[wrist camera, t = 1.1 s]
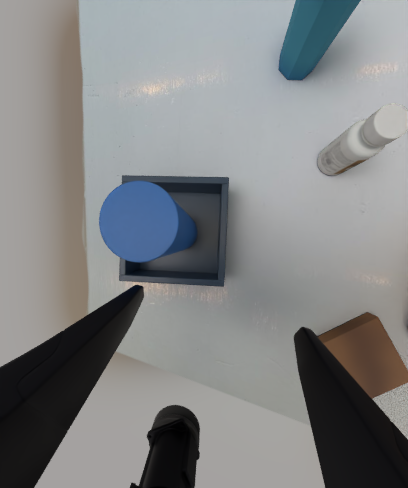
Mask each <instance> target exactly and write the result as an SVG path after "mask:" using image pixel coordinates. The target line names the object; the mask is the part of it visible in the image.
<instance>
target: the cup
mask: <svg viewBox="0 0 408 488" xmlns="http://www.w3.org/2000/svg"><path fill="white" fill-rule="evenodd" d="M360 1H361V0H296V2H295V5H294V9H293V12H292V16H291V19H290V23H289V26H288V30H287V33H286V36H285V40H284V43H283V47H282V50H281V54H280V61H279V71H280V72H281V73H282V74H283V75H284V76H285V77H286V79H287V80H302V79H304V78H305V77H306V76H307V75H308V74H309V73H310V72H312V71H313V69H314V68H315V66H316V65H317V63H318V62H319V61H320V59H321V58H322V56H323V55H324V53H325V52H326V50H327V49H328V47H329V46H330V44H331V43H332V42H333V40H334V39H335V37H336V36H337V34H338V33H339V31H340V30H341V28H342V27H343V25H344V24H345V23H346V21H347V20H348V18H349V17H350V15H351V14H352V12H353V11H354V9H355V8H356V6H357V5H358V3H359V2H360Z"/></svg>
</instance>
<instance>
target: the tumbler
mask: <svg viewBox="0 0 408 488" xmlns="http://www.w3.org/2000/svg"><path fill="white" fill-rule="evenodd" d="M99 226H100V231H101V235H102V237H103V240H104V242H105V243H106V245H107V246H108V248H109V249H110V250H111V251H112V252H113V253H115V254H116V255H117V256H119V257H120V258H122V259H125V260H127V261H131V262H148V261H152V260H155V259H158V258H161V257H164V256H167V255H170V254H173V253H176V252H179V251H182V250H185V249H188V248H189V247H191V246H192V245H193V244H194V242H195V240H196V238H197V226H196V224H195V222H194V221H193V220H192V218H191V217H190V216H189V215H188V214H187V213H186V212H185V211H184V210H183V209H182V208H181V207H180V206H179V204H178V203H177V202H176V201H175V200H174V199H173V198H172V197H171V196H170V195H169V194H168V193H167V192H166V191H165V190H164V189H163V188H161V187H160V186H158V185H156V184H154V183H151V182H148V181H131V182H127V183H124V184H122V185H120V186H118V187H117V188H115V189H114V190H113V191H112V192H111V193H110V194H109V195H108V197H107V198H106V199H105V201H104V203H103V205H102V208H101V211H100V217H99Z"/></svg>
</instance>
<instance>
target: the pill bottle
mask: <svg viewBox="0 0 408 488" xmlns="http://www.w3.org/2000/svg"><path fill="white" fill-rule="evenodd" d="M407 130H408V110H407V109H406V108H405V107H404V106H402V105H400V104H388V105H385V106H383V107H382V108H380V109H379V110H378V111H376V112H375V113H374V114H372V115H371V116H370V117H369V118H368V119H363V120H361V121H358V122H357V123H355V124H354V125H352V126H351V127H350V128H348V129H347V130H346V131H345V132H344V133H342V134H341V135H340V136H339V137H338V138H336V139H335V140H334V141H333V142H331V143H330V144H329V145H328V146H327V147H325V148H324V149H323V150H322V151H321V153H320V154H319V157H318V166H319V168H320V170H321V171H322V172H323V173H325V174H327V175H338V174H341V173H342V172H344V171H346V170H348V169H350V168H352V167H354V166H356V165H358V164H360V163H362V162H364V161H366V160H367V159H369V158H371V157H373V156H375V155H376V154H378V153H379V152H380V151H381V150H382V149H383V148H384V147H385V145H386V144H388V143H390V142H392V141H394V140H395V139H397V138H399V137H401V136H402V135H403V134H405V133H406V131H407Z"/></svg>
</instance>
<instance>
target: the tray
mask: <svg viewBox="0 0 408 488" xmlns="http://www.w3.org/2000/svg"><path fill="white" fill-rule="evenodd" d="M131 181H148V182H151V183H154V184H156V185H158V186H160V187H161V188H163V189H164V190H165V191H166V192H167V193H168V194H169V195H170V196H171V197H172V198H173V199H174V200H175V201H176V202H177V203H178V204H179V206H180V207H181V208H182V209H183V210H184V211H185V212H186V213H187V214H188V215H189V216H190V217H191V218H192V220H193V221H194V222H195V224H196V226H197V238H196V240H195V242H194V244H193V245H192V246H191V247H189V248H188V249H185V250H182V251H179V252H176V253H173V254H170V255H167V256H164V257H161V258H158V259H155V260H152V261H148V262H131V261H127V260H125V259H122V258H120V273H119V274H120V275H119V281H132V282H151V283H169V284H187V285H205V286H223V287H224V278H225V255H226V232H227V209H228V186H229V178H228V177H177V176H122V184H124V183H127V182H131Z"/></svg>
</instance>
